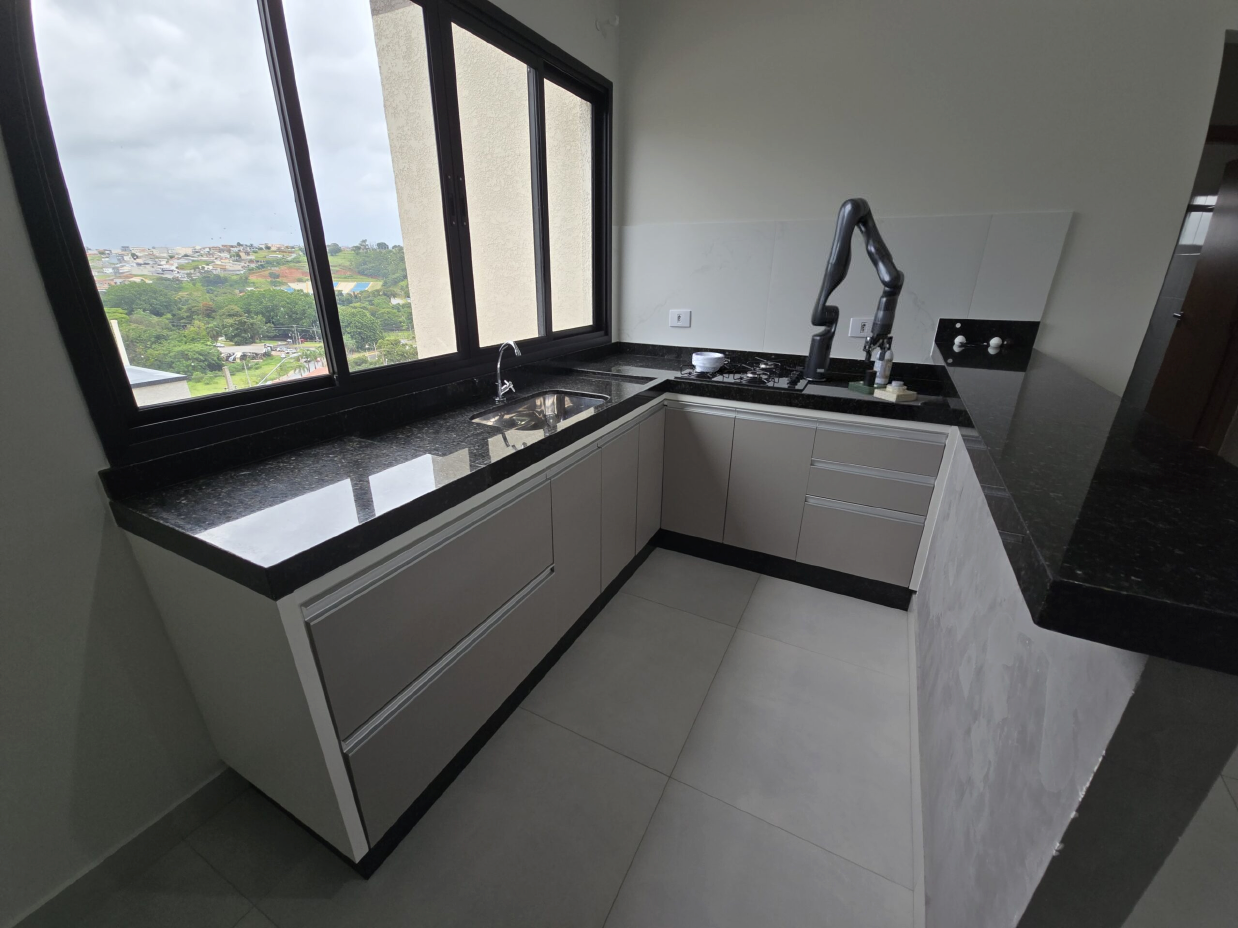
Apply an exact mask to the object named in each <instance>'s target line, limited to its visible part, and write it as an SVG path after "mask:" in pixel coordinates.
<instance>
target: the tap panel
mask: <svg viewBox="0 0 1238 928" xmlns="http://www.w3.org/2000/svg"><path fill="white" fill-rule="evenodd" d="M863 382H864V380H863V381H851V382H849V383H848V386H847V387H848V388H847V390H849V391H853V392H856V393H860V394H863V395H874V392H875V389H882V388H887V385H888V384H879V383H875V385H866V384H863Z"/></svg>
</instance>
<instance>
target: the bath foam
mask: <svg viewBox="0 0 1238 928" xmlns="http://www.w3.org/2000/svg"><path fill="white" fill-rule="evenodd" d="M888 346H889V345H888V344H887V347H888ZM880 352H881V351H880V350H879V351H878V352H877V355H876V357H875V362H874V365H873V370H876V371H877V376H876V380H875V383H879V384H883V385H888V384H889V383H888V382H889V378H890V374H891V371H892V366H893V362H894V357H895V356H894V351H893V348H891V350H890V351H887V352H886V355H885V359H884V361H879V360H878V359H879V354H880Z"/></svg>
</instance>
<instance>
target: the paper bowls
mask: <svg viewBox="0 0 1238 928" xmlns="http://www.w3.org/2000/svg"><path fill="white" fill-rule="evenodd" d="M725 357H726V356H725V355H724V354H723V353H718V352H711V351H699V352H694V353H693V354H692V365H694V367H695V368H696V370H697V371H699V372H702V373H715V372H718V371H719V370H720V368H721V367H723V366H724V365H725Z"/></svg>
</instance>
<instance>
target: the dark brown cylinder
mask: <svg viewBox="0 0 1238 928" xmlns="http://www.w3.org/2000/svg"><path fill="white" fill-rule="evenodd" d="M876 376H877V371H876V370H874V369H867V370H865V373H864V378H863V381H864V382H863V384H866V385H875V380H876Z"/></svg>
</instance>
